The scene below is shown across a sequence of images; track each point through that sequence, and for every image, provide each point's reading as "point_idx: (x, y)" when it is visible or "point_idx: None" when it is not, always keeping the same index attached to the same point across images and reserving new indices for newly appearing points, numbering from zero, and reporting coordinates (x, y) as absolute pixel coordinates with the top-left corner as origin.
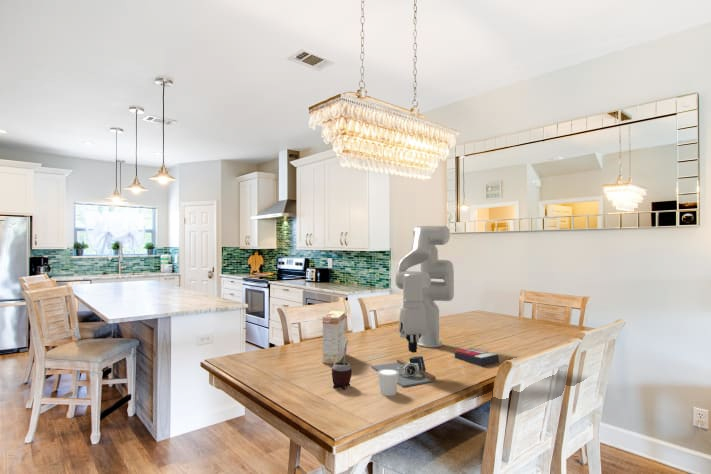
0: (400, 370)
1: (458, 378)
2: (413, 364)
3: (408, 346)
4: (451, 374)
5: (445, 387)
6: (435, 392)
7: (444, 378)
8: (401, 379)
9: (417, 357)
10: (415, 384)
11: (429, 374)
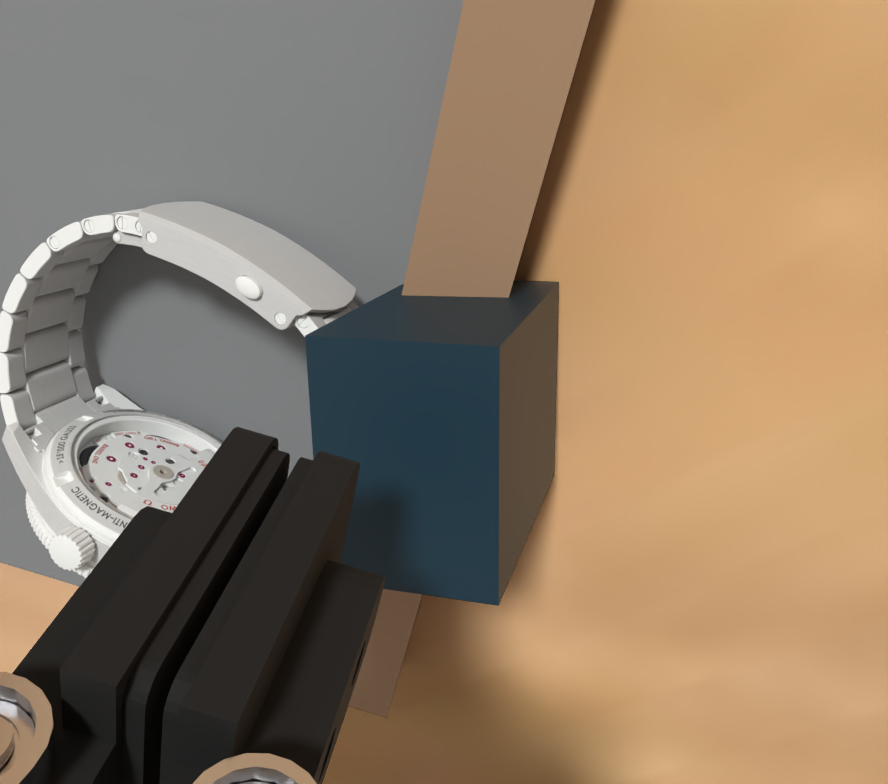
0: (17, 371)
1: (721, 780)
2: None
3: (106, 556)
4: (809, 685)
5: (358, 780)
6: None
7: (585, 686)
8: None
9: (404, 523)
10: None
11: (380, 644)
